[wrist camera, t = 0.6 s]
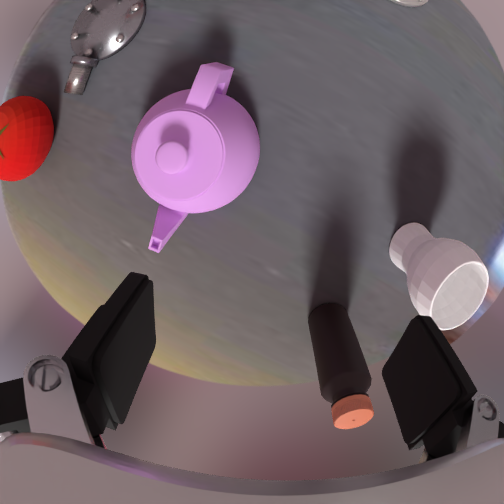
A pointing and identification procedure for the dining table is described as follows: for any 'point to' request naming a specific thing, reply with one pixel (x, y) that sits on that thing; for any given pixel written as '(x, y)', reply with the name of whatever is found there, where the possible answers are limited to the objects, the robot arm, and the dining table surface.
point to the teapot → (194, 151)
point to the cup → (439, 275)
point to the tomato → (24, 136)
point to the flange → (101, 36)
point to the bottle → (340, 366)
